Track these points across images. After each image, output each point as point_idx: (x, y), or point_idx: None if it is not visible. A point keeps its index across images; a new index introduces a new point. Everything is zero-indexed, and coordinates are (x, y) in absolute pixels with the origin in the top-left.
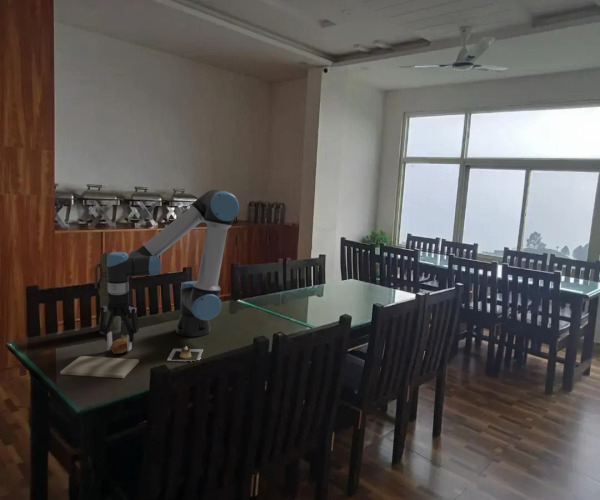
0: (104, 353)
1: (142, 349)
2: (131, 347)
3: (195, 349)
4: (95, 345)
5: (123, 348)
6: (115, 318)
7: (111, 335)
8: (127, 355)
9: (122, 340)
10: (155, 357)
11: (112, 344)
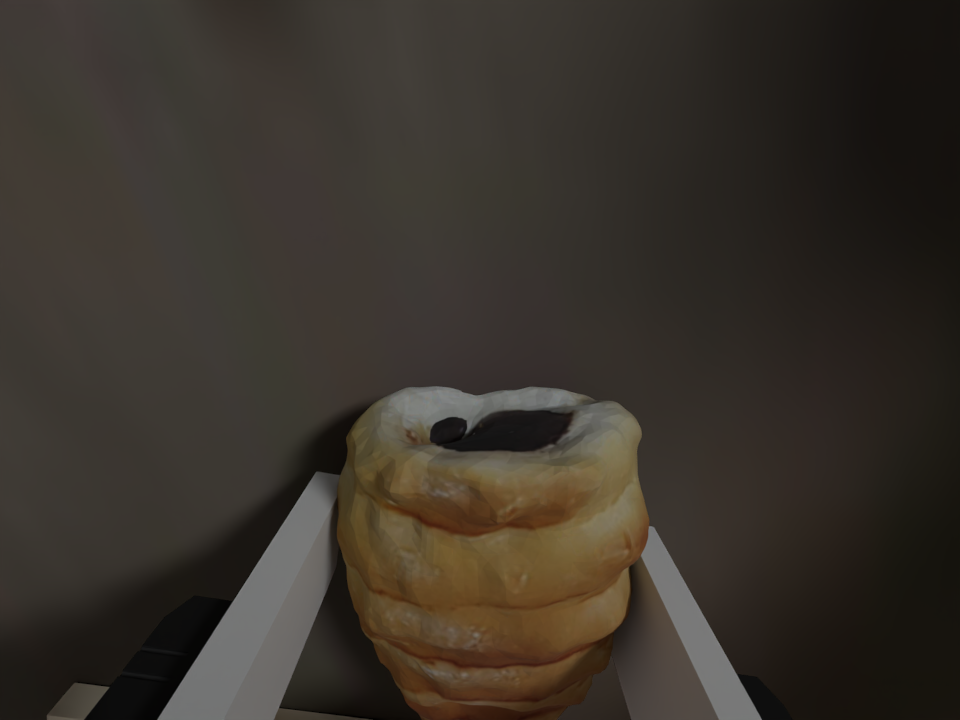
0: None
1: (783, 425)
2: (658, 545)
3: None
4: (6, 241)
5: (567, 706)
6: None
7: (245, 702)
8: None
9: (527, 611)
10: (927, 664)
11: (347, 564)
